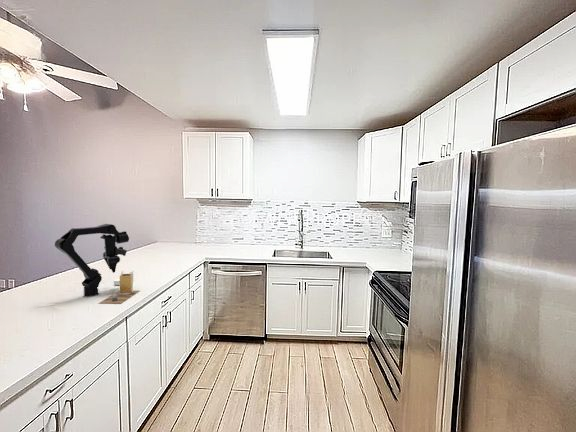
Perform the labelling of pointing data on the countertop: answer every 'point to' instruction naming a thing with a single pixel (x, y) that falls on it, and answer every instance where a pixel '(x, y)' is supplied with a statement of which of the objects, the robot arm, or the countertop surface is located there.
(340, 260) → the countertop surface
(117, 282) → the bracket
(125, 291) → the gold square tube
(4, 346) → the countertop surface
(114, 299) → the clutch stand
